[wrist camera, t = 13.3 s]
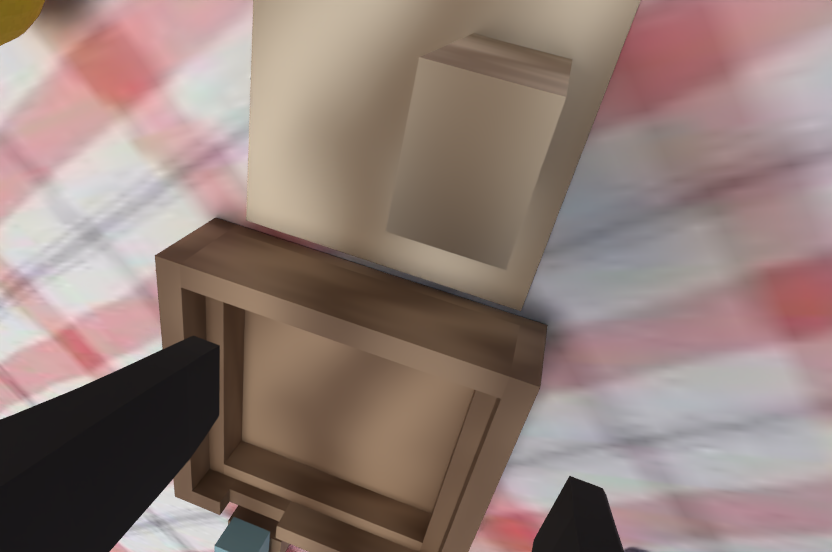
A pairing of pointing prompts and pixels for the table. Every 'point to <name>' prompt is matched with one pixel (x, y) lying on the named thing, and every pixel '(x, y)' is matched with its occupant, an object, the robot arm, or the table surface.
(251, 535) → the rectangular block
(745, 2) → the table surface
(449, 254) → the lid
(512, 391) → the tray
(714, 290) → the table surface
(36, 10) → the lemon
